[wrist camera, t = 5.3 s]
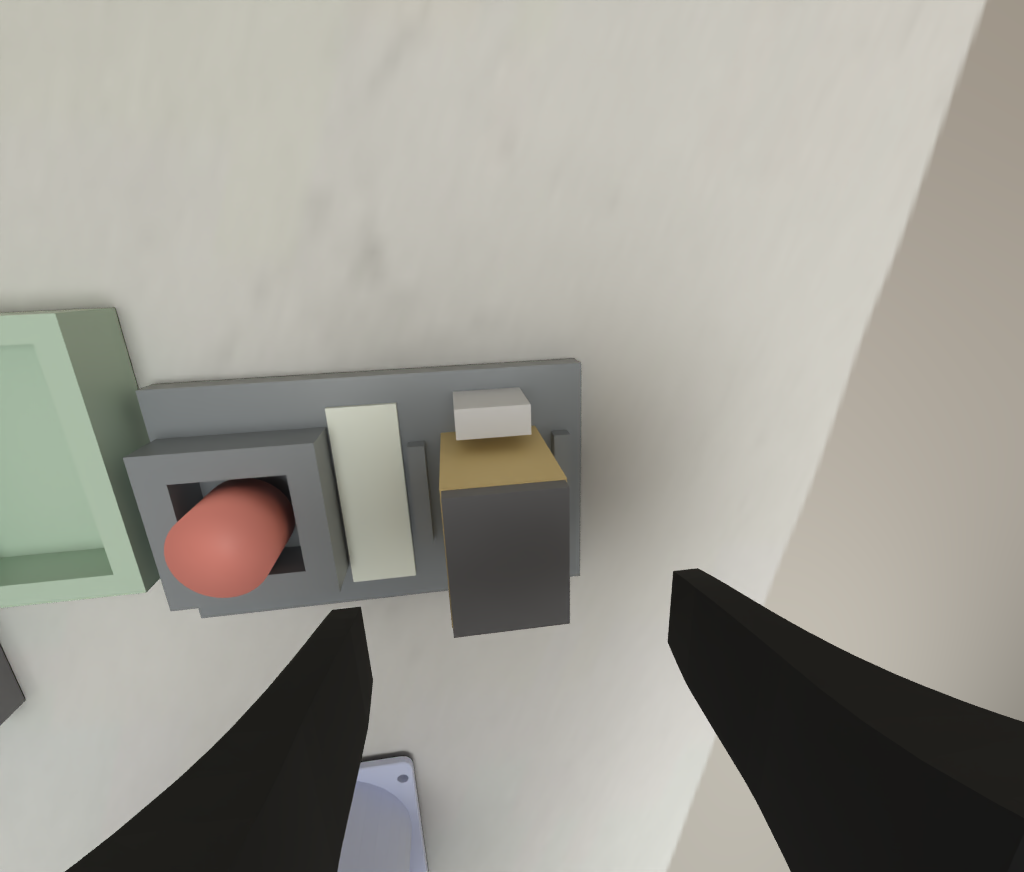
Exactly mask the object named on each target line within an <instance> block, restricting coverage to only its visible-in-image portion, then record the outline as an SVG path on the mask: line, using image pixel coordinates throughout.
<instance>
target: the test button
mask: <svg viewBox="0 0 1024 872" xmlns="http://www.w3.org/2000/svg"><path fill="white" fill-rule="evenodd" d="M294 527H295V516H294V511H293V507H292V505H291V503H290V501H289V500H288V498H287V497H286V496H285V495H284V494H283V493H282V492H281V491H280V490H279V489H277V488H276V487H275V486H273V485H271V484H269V483H267V482H265V481H262V480H258V479H253V478H244V479H232V480H228V481H225V482H223V483H221V484H219V485H218V486H216V487H215V488H214V489H213V490H212V491H211V492H209V493H208V494H207V495H206V496H205V497H204V498H203V499H202V500H201V501H200V502H199V503H197V504H196V505H195V506H194V507H193V508H192V509H191V510H190V511H189V512H188V513H187V514H185V515H184V516H183V517H182V518H181V519H180V520H179V521H178V522H177V523H176V524H175V525H174V526H173V527H172V528H171V530H170V531H169V532H168V535H167V537H166V539H165V543H164V556H165V561H166V563H167V566H168V568H169V570H170V571H171V573H172V574H173V575H174V577H175V578H176V579H177V580H178V581H179V582H180V583H182V584H183V585H184V586H186V587H187V588H189V589H190V590H192V591H194V592H197V593H199V594H202V595H205V596H209V597H216V598H231V597H237V596H240V595H244V594H246V593H249V592H250V591H252V590H254V589H255V588H257V587H258V586H259V585H260V584H261V583H262V582H263V581H264V580H265V579H266V577H267V576H268V574H269V572H270V571H271V569H272V567H273V566H274V564H275V562H276V561H277V559H278V557H279V556H280V554H281V552H282V550H283V549H284V547H285V545H286V544H287V542H288V540H289V539H290V537H291V535H292V533H293V530H294Z"/></svg>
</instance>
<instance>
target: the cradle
mask: <svg viewBox="0 0 1024 872" xmlns="http://www.w3.org/2000/svg"><path fill="white" fill-rule="evenodd" d="M135 391H136V395H137V398H138V402H139V405H140V409H141V412H142V416H143V419H144V422H145V426H146V429H147V433H148V436H149V440H150V443H148V444H146V445H145V446H143V447H141V448H139V449H137V450H136V451H134V452H132V453H130V454H129V455H127V456H125V457H123V460H124V464H125V467H126V470H127V473H128V476H129V480H130V483H131V486H132V489H133V492H134V496H135V499H136V502H137V505H138V508H139V512H140V515H141V518H142V521H143V524H144V527H145V531H146V534H147V537H148V540H149V543H150V547H151V550H152V553H153V556H154V559H155V563H156V566H157V569H158V572H159V575H160V579H161V582H162V585H163V588H164V591H165V595H166V598H167V601H168V604H169V607H170V611H177V610H186V609H195V608H199V612H200V615H201V618H208V617H217V616H226V615H234V614H243V613H252V612H261V611H270V610H279V609H288V608H296V607H305V606H314V605H323V604H332V603H341V602H350V601H359V600H367V599H376V598H385V597H394V596H403V595H412V594H421V593H429V592H438V591H447V590H449V588H448V578H447V567H446V556H445V546H444V535H443V525H442V514H441V503H440V493H439V476H440V437H441V433H445V432H456V440H469V439H481V438H494V437H507V436H520V435H531V426H536V428H537V430H538V431H539V433H540V435H541V436H542V438H543V439H544V441H545V443H546V444H547V446H548V448H549V449H550V451H551V453H552V454H553V456H554V458H555V459H556V461H557V462H558V464H559V466H560V467H561V469H562V471H563V472H564V474H565V476H566V477H567V484H568V485H569V487H570V577H571V576H580V466H581V362H579V361H578V360H576V359H574V358H572V359H556V360H540V361H523V362H507V363H491V364H474V365H458V366H442V367H426V368H409V369H393V370H377V371H360V372H344V373H328V374H311V375H295V376H279V377H262V378H246V379H230V380H213V381H197V382H181V383H165V384H152V385H149V386H146V387H144V388H141V389H138V390H135ZM244 478H253V479H258V480H262V481H265V482H267V483H269V484H271V485H273V486H275V487H276V488H277V489H279V490H280V491H281V492H282V493H283V494H284V495H285V496H286V497H287V498H288V500H289V501H290V503H291V505H292V507H293V511H294V516H295V527H294V530H293V533H292V535H291V537H290V539H289V540H288V542H287V544H286V545H285V547H284V549H283V550H282V552H281V554H280V556H279V557H278V559H277V561H276V562H275V564H274V566H273V567H272V569H271V571H270V572H269V574H268V576H267V577H266V579H265V580H264V581H263V582H262V583H261V584H260V585H259V586H258V587H257V588H255V589H254V590H252V591H250V592H249V593H246V594H244V595H240V596H237V597H231V598H216V597H209V596H205V595H202V594H199V593H197V592H194V591H192V590H190V589H189V588H187V587H186V586H184V585H183V584H182V583H180V582H179V581H178V580H177V579H176V578H175V577H174V575H173V574H172V573H171V571H170V570H169V568H168V566H167V563H166V561H165V556H164V543H165V539H166V537H167V535H168V532H169V531H170V530H171V528H172V527H173V526H174V525H175V524H176V523H177V522H178V521H179V520H180V519H181V518H182V517H183V516H184V515H185V514H187V513H188V512H189V511H190V510H191V509H192V508H193V507H194V506H195V505H196V504H197V503H199V502H200V501H201V500H202V499H203V498H204V497H205V496H206V495H207V494H208V493H209V492H211V491H212V490H213V489H214V488H215V487H216V486H218V485H219V484H221V483H223V482H225V481H228V480H232V479H244Z"/></svg>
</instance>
